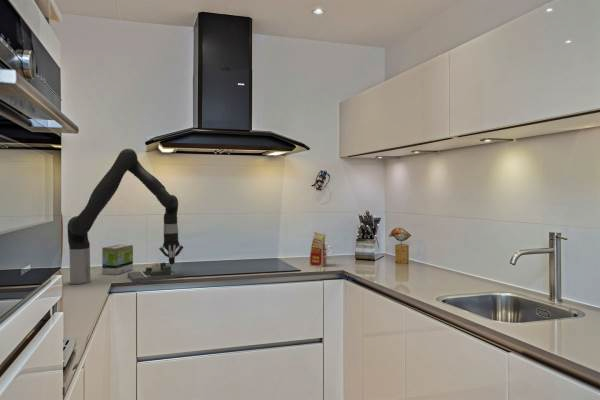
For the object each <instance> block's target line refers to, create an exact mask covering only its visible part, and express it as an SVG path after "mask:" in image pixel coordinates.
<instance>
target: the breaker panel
mask: <svg viewBox="0 0 600 400" xmlns="http://www.w3.org/2000/svg"><path fill="white" fill-rule="evenodd" d="M159 263H160V264H161V271H152V266H151V267H145V270H140V271H134V272H133V271H131V272H130V271H129V272H127V277H128V278H129V279H130V281H131V282H132V283H143V282H145V283H146V282H152V281H161V280H163V279H164V280H173V279H178V273H176V272H175V271H173V270H172V267H171V265H166V262H159ZM172 278H173V279H172Z"/></svg>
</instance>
